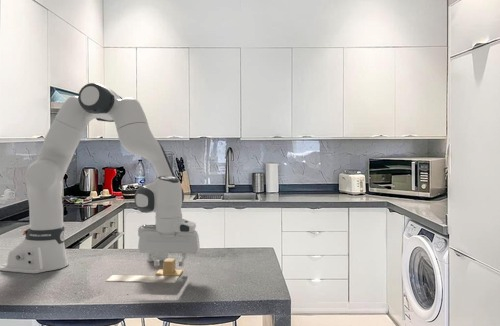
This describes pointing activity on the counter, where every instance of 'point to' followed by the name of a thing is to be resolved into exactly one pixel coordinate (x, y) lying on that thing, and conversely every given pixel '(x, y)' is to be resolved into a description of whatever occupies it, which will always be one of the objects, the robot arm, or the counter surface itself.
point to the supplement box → (157, 256)
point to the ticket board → (143, 278)
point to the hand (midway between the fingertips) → (169, 266)
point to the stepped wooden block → (169, 268)
